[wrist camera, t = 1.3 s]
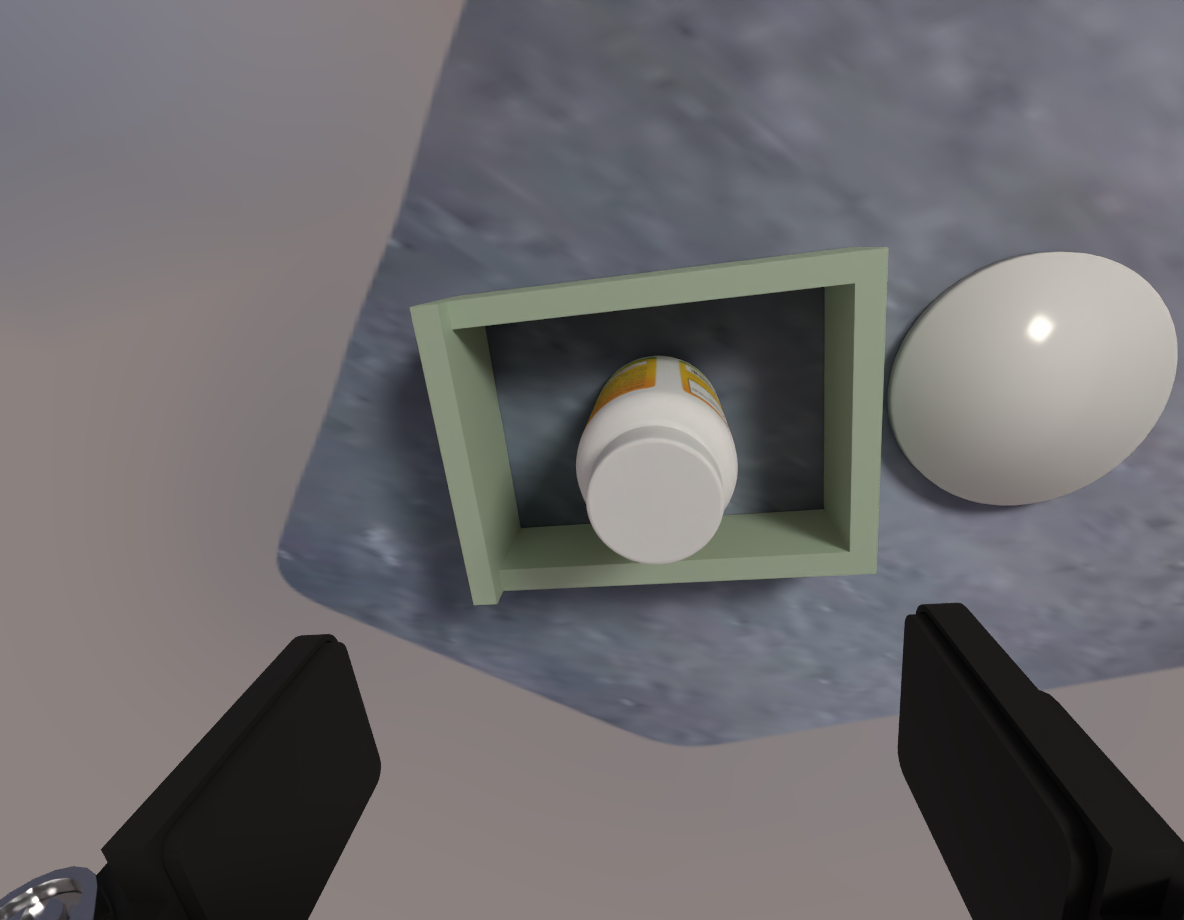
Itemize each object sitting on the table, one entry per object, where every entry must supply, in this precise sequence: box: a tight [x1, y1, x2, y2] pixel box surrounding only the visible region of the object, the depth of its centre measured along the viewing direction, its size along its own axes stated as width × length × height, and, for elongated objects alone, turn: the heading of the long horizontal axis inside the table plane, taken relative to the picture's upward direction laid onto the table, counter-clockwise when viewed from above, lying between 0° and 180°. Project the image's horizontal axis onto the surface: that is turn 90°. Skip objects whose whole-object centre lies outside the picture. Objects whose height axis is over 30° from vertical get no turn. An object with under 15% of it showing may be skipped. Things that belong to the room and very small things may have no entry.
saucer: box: [887, 252, 1178, 505], centre depth 24 cm, size 10×10×1 cm
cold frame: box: [410, 247, 888, 605], centre depth 24 cm, size 16×12×5 cm
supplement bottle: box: [576, 356, 738, 564], centre depth 22 cm, size 5×5×10 cm
